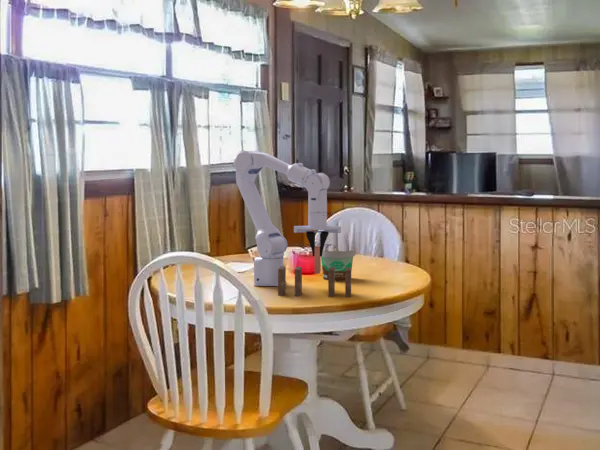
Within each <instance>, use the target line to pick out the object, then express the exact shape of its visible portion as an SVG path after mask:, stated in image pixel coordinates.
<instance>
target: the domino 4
mask: <svg viewBox="0 0 600 450" xmlns="http://www.w3.org/2000/svg"><path fill="white" fill-rule="evenodd" d="M327 281H328V288H327V289H328V293H327V294H328V296H327V297H329V298H334V297H335V288H336V286H335V283H336V281H335V267H329V270H328V280H327Z"/></svg>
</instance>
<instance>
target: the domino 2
mask: <svg viewBox="0 0 600 450" xmlns="http://www.w3.org/2000/svg"><path fill="white" fill-rule="evenodd" d="M302 283H303V266H296V267H295V268H294V297H301V295H302V293H303V285H302Z"/></svg>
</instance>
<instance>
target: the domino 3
mask: <svg viewBox="0 0 600 450" xmlns="http://www.w3.org/2000/svg"><path fill="white" fill-rule="evenodd" d="M321 272H322V261H321V256H320V245H315V256H314V274H315V275H316V274H317V275H318V274H321Z"/></svg>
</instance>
